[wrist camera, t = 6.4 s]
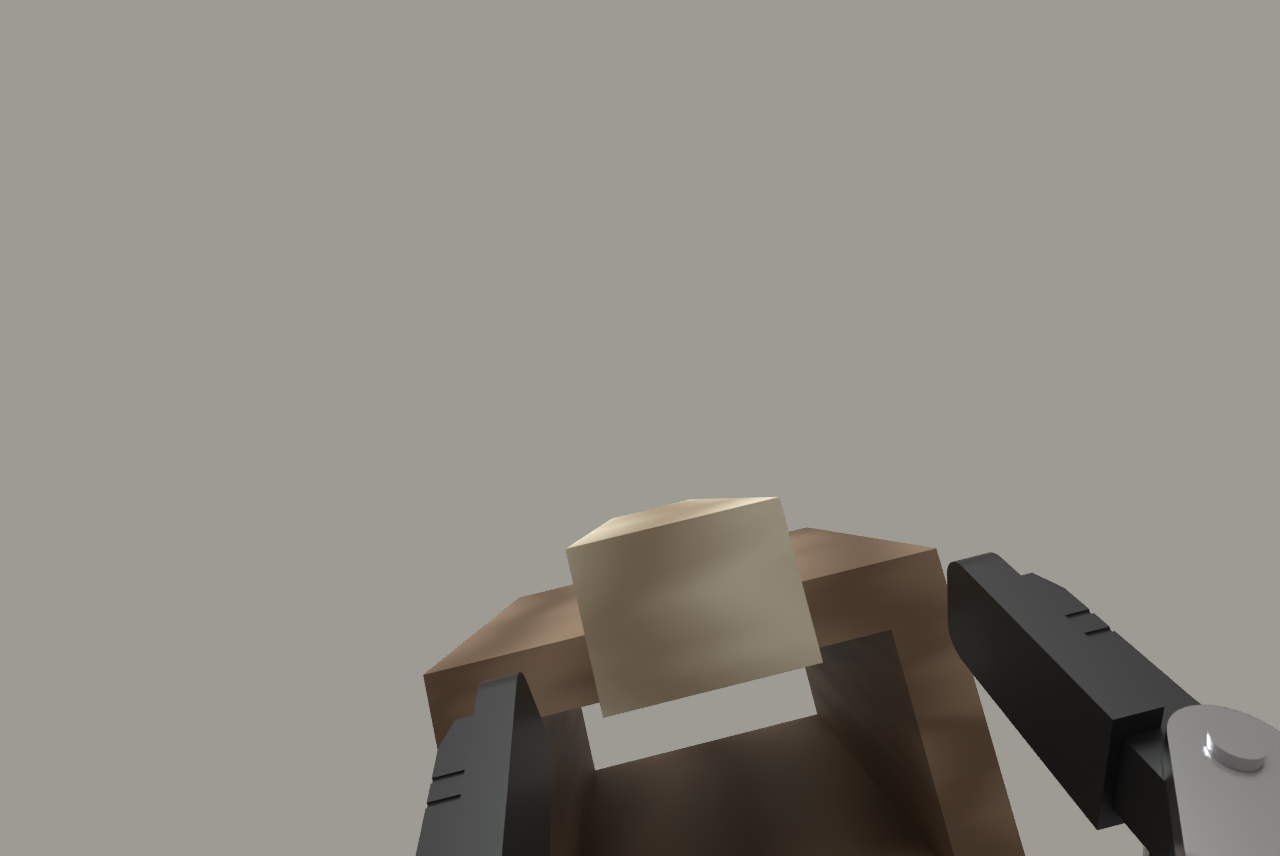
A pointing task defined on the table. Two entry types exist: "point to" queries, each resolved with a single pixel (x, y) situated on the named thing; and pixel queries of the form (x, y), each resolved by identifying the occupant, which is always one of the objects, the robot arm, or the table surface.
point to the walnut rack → (774, 729)
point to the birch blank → (690, 600)
